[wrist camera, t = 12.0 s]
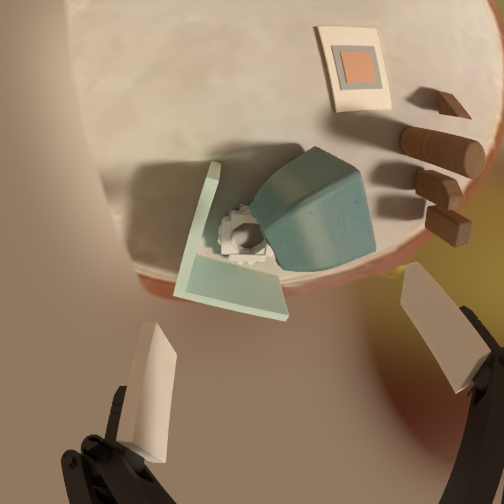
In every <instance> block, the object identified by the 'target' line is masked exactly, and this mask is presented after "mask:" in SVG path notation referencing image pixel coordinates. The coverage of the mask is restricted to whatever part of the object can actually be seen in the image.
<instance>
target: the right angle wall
mask: <svg viewBox="0 0 504 504" xmlns="http://www.w3.org/2000/svg"><path fill="white" fill-rule="evenodd" d="M220 170H221V163H219V162H215V161H211V164H210V167H209V170H208V173H207V176H206V179H205V182H204V186H203V189H202V192H201V195H200V198H199V202H198V205H197V208H196V212H195V215H194V218H193V222H192V225H191V229H190V232H189V236H188V240H187V243H186V247H185V251H184V254H183V258H182V262H181V266H180V270H179V274H178V278H177V282H176V286H175V290H174V294H173V296H176V297H180V298H184V299H188V300H192V301H196V302H200V303H204V304H208V305H212V306H216V307H221V308H225V309H230V310H234V311H238V312H243V313H247V314H252V315H257V316H262V317H267V318H271V319H277V320H281V321H286V320H287V318H288V316H289V313H288V309H287V306H286V303H285V299H284V295H283V292H282V288H281V284H280V281H279V277H278V276H276V275H272V274H268V273H265V272H261V271H257V270H253V269H249V268H246V267H242V266H238V265H241V264H242V263H244V262H247V263H248V264H249V265H253V264H254V263H255V262H264V261H265V260H266V256H267V257H271V256H273V255H274V252H273V251H272V249H271V247H270V246H269V245H268V244H267V242H266V240H265V237H264V238H263V240H262V242H261V243H259V244H258V245H256V246H254V247H252V248H250V249H248V248H245V247H241V246H238V245H237V244H236V242H235V240H234V239H233V230H234V229H235V228H237V227H238V226H240V225H241V224H243V223H255V224H258V222H257V220H256V218H254V217H253V216H252V214H251V208H250V205H249V206H247V205H244V204H241V205H240V207H239V210H230V212H229V215H228V216H226V217H224V218H222V220H221V225H220V226H219V227H218V229H219V230H218V234H219V235H220V236H219V237H218V238H217V239H218V240H217V242H218V243H219V244H220V246H221V254H229V261H235V262H236V263H237V264H238V265H234V264H231V263H227V262H223V261H219V260H216V259H212V258H208V257H205V256H201V255H197V254H196V252H197V249H198V246H199V242H200V239H201V236H202V233H203V229H204V226H205V223H206V220H207V217H208V213H209V210H210V207H211V204H212V201H213V198H214V195H215V192H216V189H217V186H218V183H219V178H220Z"/></svg>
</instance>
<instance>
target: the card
mask: <svg viewBox="0 0 504 504" xmlns="http://www.w3.org/2000/svg"><path fill="white" fill-rule="evenodd" d="M317 29H318V33H319V37H320V40H321V44H322V48H323V52H324V56H325V61H326V65H327V70H328V74H329V79H330V84H331V89H332V94H333V99H334V105H335V111H336V112H347V111H359V110H376V109H392V107H391V100H390V93H389V87H388V81H387V76H386V71H385V66H384V61H383V56H382V52H381V48H380V43H379V39H378V36H377V32H376V29H374V28H361V27H339V26H318V27H317Z"/></svg>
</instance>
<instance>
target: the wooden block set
mask: <svg viewBox="0 0 504 504" xmlns="http://www.w3.org/2000/svg"><path fill="white" fill-rule="evenodd" d="M437 92H438V105H439V114H443V115H450V116H456V117H461V118H467V119H472V118H471V117H470V116H469V114H468V113H467V112H466V110H465V109H464V108H463V107H462V105H461V104H460V103H459V102H458V101H457V99H456V98H455V97H454V96H453V95H452V94H449V93H445V92H441V91H437ZM400 144H401V148H402V150H403V151H404V153H405V154H406V155H408V156H409V157H412V158H415V159H418V160H421V161H424V162H427V163H430V164H433V165H436V166H439V167H441V168H444V169H447V170H449V171H452V172H455V173H457V174H460V175H462V176H465V177H467V178H470V179H474V178H477V177H478V176H479V175H480V174H481V173H482V171H483V168H484V165H485V153H484V149H483V147H482V145H481V144H480V143H479V142H478V141H475V140H472V139H468V138H464V137H460V136H456V135H452V134H448V133H443V132H439V131H434V130H429V129H424V128H418V127H409V128H407V129H405V130H404V132H403V133H402V135H401V139H400ZM416 194H417V195H419V196H421V197H423V198H425V199H427V200H429V201H431V202H433V203H435V204H437V205H434V206H428V207H427V213H426V221H425V228H427V229H428V230H430V231H431V232H433V233H434V234H436V235H437V236H439V237H440V238H441V239H443V240H444V241H446V242H447V243H449V244H450V245H451V246H453V247H458V246H461V245H464V244H467V243H468V239H469V235H470V230H471V224H472V222H471V221H470V220H468V219H467V218H465V217H463V216H461V215H460V214H458V213H456V212H454V211H453V209H458V208H462V205H463V194H462V191H461V189H460V187H459V185H458V183H457V181H456V180H455V179H453V178H451V177H449V176H446V175H444V174H441V173H439V172H436V171H433V170H423V171H417V174H416Z"/></svg>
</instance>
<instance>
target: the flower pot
mask: <svg viewBox="0 0 504 504" xmlns="http://www.w3.org/2000/svg"><path fill="white" fill-rule="evenodd" d="M250 208H251V214H252V216H253V217H254V218H256V220H257V222H258V224H259V225H260V231H261V233H262V235H263V236H264V237H265V240H266V242H267V244H268V245H269V246H270V247H271V249H272V251H273V252H274V254H275V257H276V262H277V264H278V265H279V266H280V267H281V268H282V269H283V270H286V271H295V272H315V271H323V270H328V269H331V268H335V267H337V266H340V265H343V264H346V263H348V262H351V261H353V260H356V259H358V258H361V257H363V256H366V255H368V254H371V253H373V252H376V242H375V237H374V231H373V226H372V222H371V216H370V211H369V207H368V202H367V197H366V192H365V187H364V183H363V180H362V176H361V173H360V171H359V170H358V169H356V168H355V167H354V166H352V165H350V164H348V163H346V162H345V161H343V160H341V159H339V158H337V157H335V156H333V155H331V154H330V153H327V152H326V151H324V150H322V149H320V148H318V147H316V146H314V147H313V148H311V149H310V150H308V151H306V152H305V153H303V154H301V155H300V156H298V157H297V158H295V159H293V160H292V161H290V162H289V163H287V164H286V165H284V166H283V167H281V168H280V169H278V170H277V171H276V172H275V173H274V174H272V175H271V176H270V177H269V178H268V179H267V180H266V182H265V183H264V184H263V185H262V187H261V188H260V189H259V191H258V192H257V194H256V195H255V197H254V199H253V201H252V202H251V204H250Z"/></svg>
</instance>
